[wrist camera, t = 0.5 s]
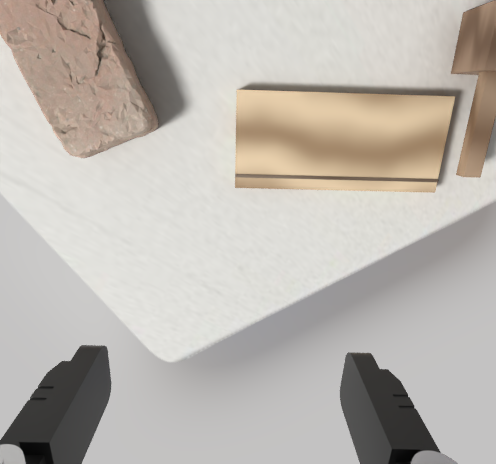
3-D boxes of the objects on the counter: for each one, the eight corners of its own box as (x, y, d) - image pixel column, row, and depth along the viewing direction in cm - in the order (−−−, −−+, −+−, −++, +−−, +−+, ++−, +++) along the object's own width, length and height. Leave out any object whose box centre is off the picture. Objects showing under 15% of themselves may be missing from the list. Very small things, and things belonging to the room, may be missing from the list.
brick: (165, 126, 35) (153, 129, 31) (89, 158, 36) (67, 165, 32) (76, -67, 30) (47, -97, 25) (-10, -24, 31) (-52, -45, 26)
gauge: (465, -1, 32) (505, -19, 27) (510, 1, 32) (557, -16, 27) (431, 169, 37) (459, 179, 32) (469, 170, 37) (503, 180, 32)
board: (236, 90, 34) (236, 89, 32) (446, 96, 34) (456, 96, 33) (235, 184, 37) (235, 187, 35) (427, 189, 37) (435, 192, 36)
